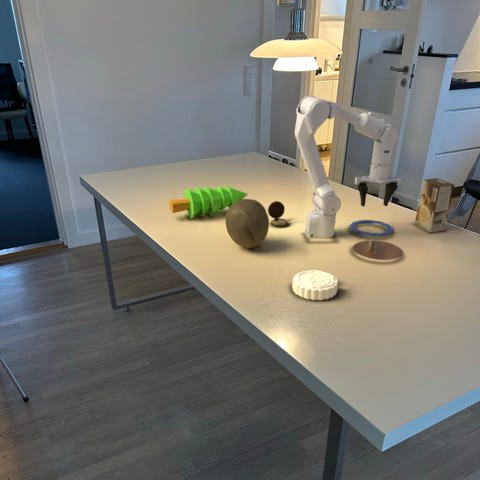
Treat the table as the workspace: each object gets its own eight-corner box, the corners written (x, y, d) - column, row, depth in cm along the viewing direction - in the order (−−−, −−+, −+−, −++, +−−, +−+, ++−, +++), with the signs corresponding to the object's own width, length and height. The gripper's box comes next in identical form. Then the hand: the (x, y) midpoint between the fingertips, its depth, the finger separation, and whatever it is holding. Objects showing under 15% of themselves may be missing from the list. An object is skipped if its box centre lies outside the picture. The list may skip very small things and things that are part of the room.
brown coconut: (276, 243, 159) (278, 198, 151) (255, 258, 149) (256, 210, 141) (239, 234, 165) (239, 191, 157) (216, 249, 155) (215, 202, 147)
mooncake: (283, 289, 131) (283, 277, 130) (310, 276, 139) (311, 264, 137) (318, 305, 124) (319, 293, 122) (346, 290, 131) (347, 278, 130)
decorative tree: (167, 183, 173) (244, 172, 182) (167, 209, 182) (241, 197, 191) (176, 204, 167) (256, 192, 176) (175, 229, 176) (251, 216, 186)
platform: (359, 263, 146) (361, 249, 144) (347, 244, 159) (348, 231, 157) (409, 262, 147) (412, 249, 145) (392, 243, 160) (395, 230, 157)
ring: (356, 239, 162) (356, 235, 162) (345, 224, 174) (346, 220, 174) (397, 238, 163) (398, 234, 162) (384, 223, 175) (385, 219, 174)
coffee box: (445, 230, 170) (456, 184, 162) (430, 232, 168) (440, 186, 160) (427, 221, 177) (437, 177, 169) (413, 224, 175) (422, 179, 167)
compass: (274, 228, 170) (275, 208, 167) (267, 220, 177) (267, 201, 173) (295, 226, 172) (297, 206, 169) (287, 218, 179) (288, 199, 175)
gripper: (361, 167, 151) (355, 209, 158) (407, 166, 152) (399, 209, 159) (355, 161, 157) (350, 202, 164) (399, 161, 158) (392, 202, 165)
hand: (373, 205), depth 162 cm, fingers open, 7 cm apart
